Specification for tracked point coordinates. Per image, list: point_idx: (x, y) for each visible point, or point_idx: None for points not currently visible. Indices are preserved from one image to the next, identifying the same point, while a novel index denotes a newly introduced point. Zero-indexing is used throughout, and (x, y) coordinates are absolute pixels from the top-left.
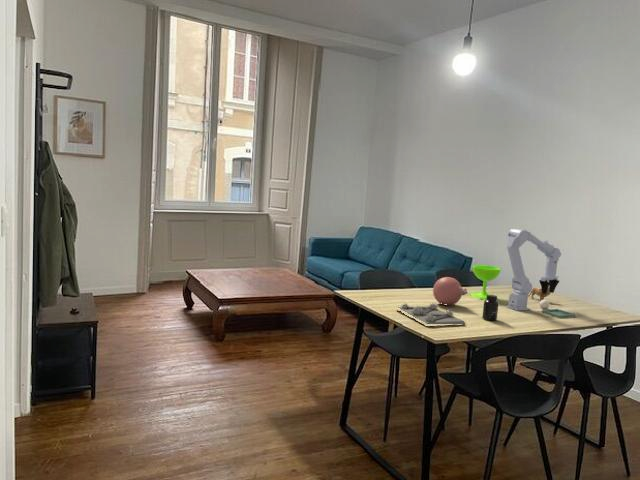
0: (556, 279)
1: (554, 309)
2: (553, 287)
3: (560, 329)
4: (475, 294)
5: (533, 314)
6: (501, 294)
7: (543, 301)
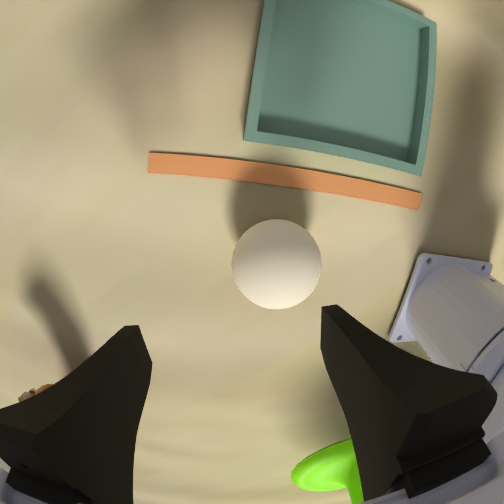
0: (12, 477)
1: (296, 137)
2: (113, 382)
3: None
4: None
5: (489, 171)
6: (213, 482)
7: (314, 271)
